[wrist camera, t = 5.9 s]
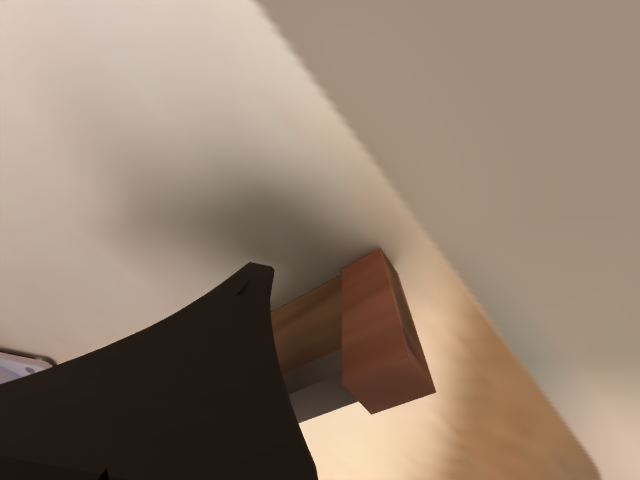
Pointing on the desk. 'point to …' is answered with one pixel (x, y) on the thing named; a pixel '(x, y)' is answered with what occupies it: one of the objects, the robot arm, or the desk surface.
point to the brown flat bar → (351, 343)
